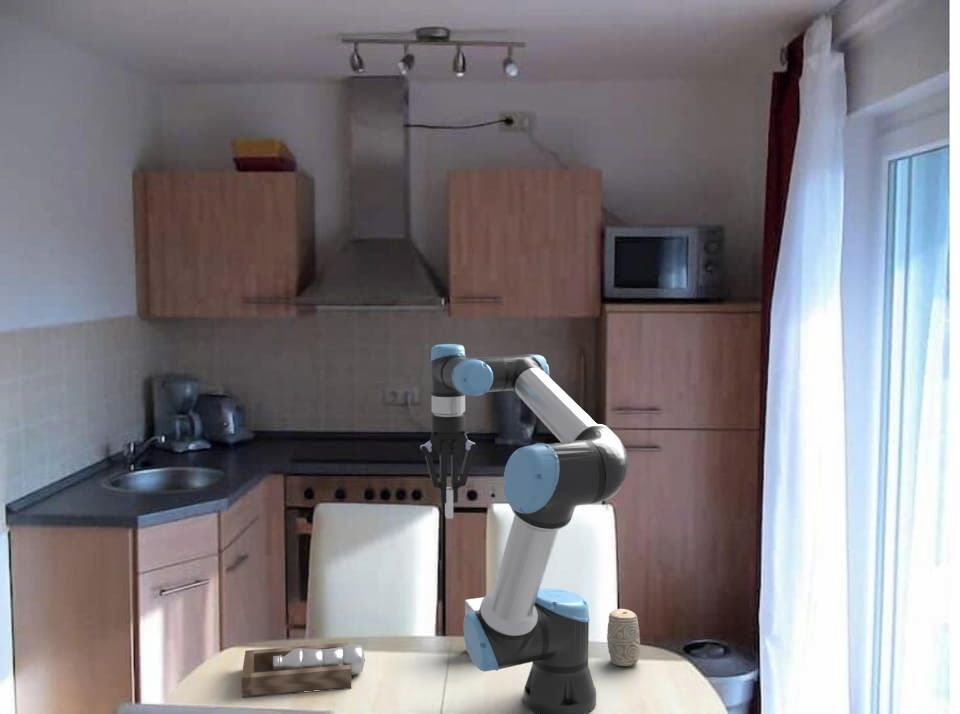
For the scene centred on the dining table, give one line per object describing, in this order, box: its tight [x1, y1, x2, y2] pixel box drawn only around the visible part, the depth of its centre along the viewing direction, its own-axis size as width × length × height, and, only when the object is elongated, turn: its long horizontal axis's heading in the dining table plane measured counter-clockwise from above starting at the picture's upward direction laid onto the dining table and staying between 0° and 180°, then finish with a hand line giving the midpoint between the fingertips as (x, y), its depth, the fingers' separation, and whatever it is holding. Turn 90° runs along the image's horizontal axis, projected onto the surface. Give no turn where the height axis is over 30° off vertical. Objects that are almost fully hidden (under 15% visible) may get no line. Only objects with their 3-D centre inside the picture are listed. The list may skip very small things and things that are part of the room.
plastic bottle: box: [273, 643, 366, 676], centre depth 208 cm, size 6×7×20 cm
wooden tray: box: [240, 642, 352, 699], centre depth 208 cm, size 23×14×4 cm, turn 101°
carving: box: [606, 608, 641, 667], centre depth 214 cm, size 6×8×12 cm
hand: (449, 516), depth 212 cm, fingers closed
